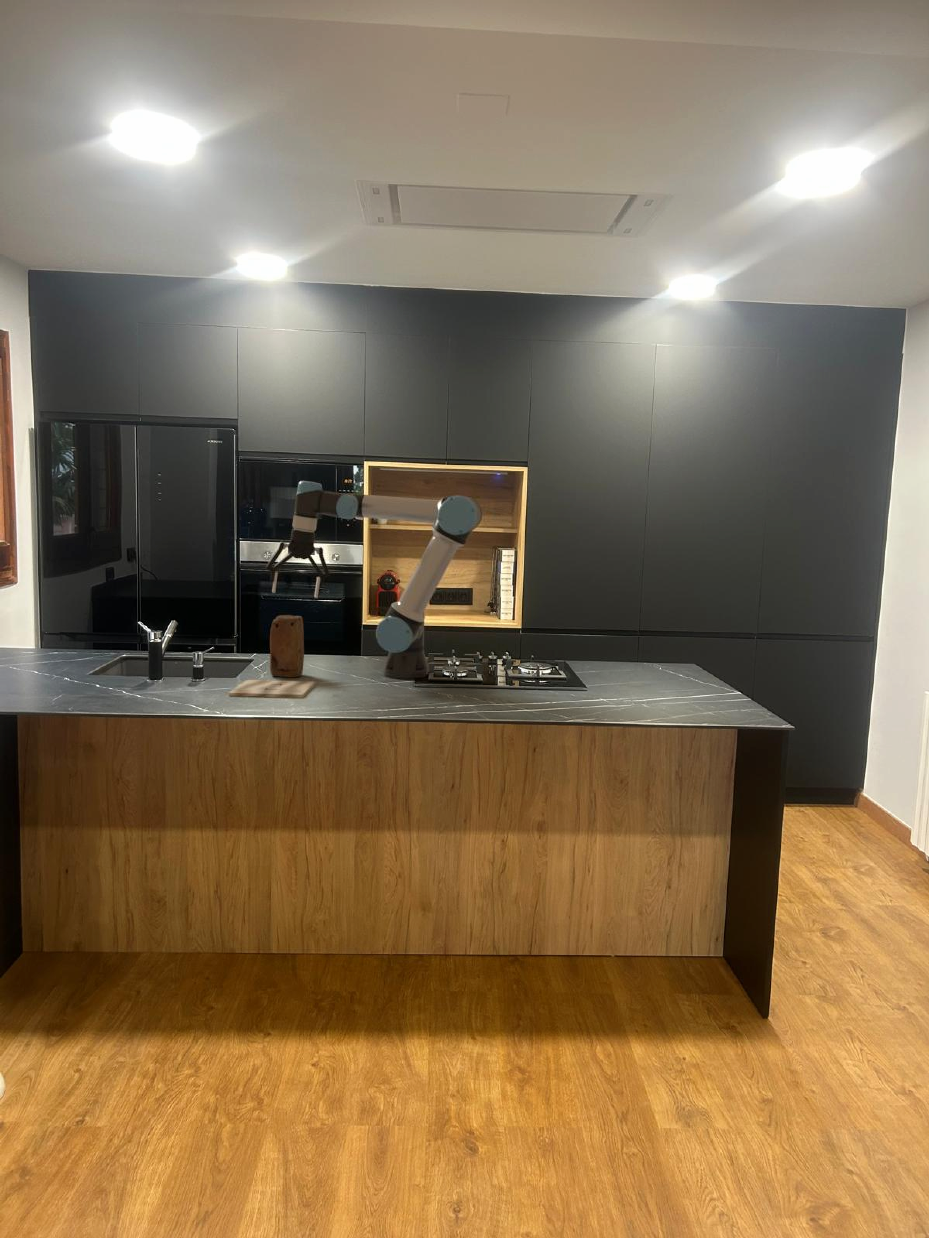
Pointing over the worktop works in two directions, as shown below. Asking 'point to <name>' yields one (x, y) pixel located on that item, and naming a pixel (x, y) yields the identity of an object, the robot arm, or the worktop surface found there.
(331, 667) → the worktop surface
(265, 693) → the wooden cutting board
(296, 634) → the block
